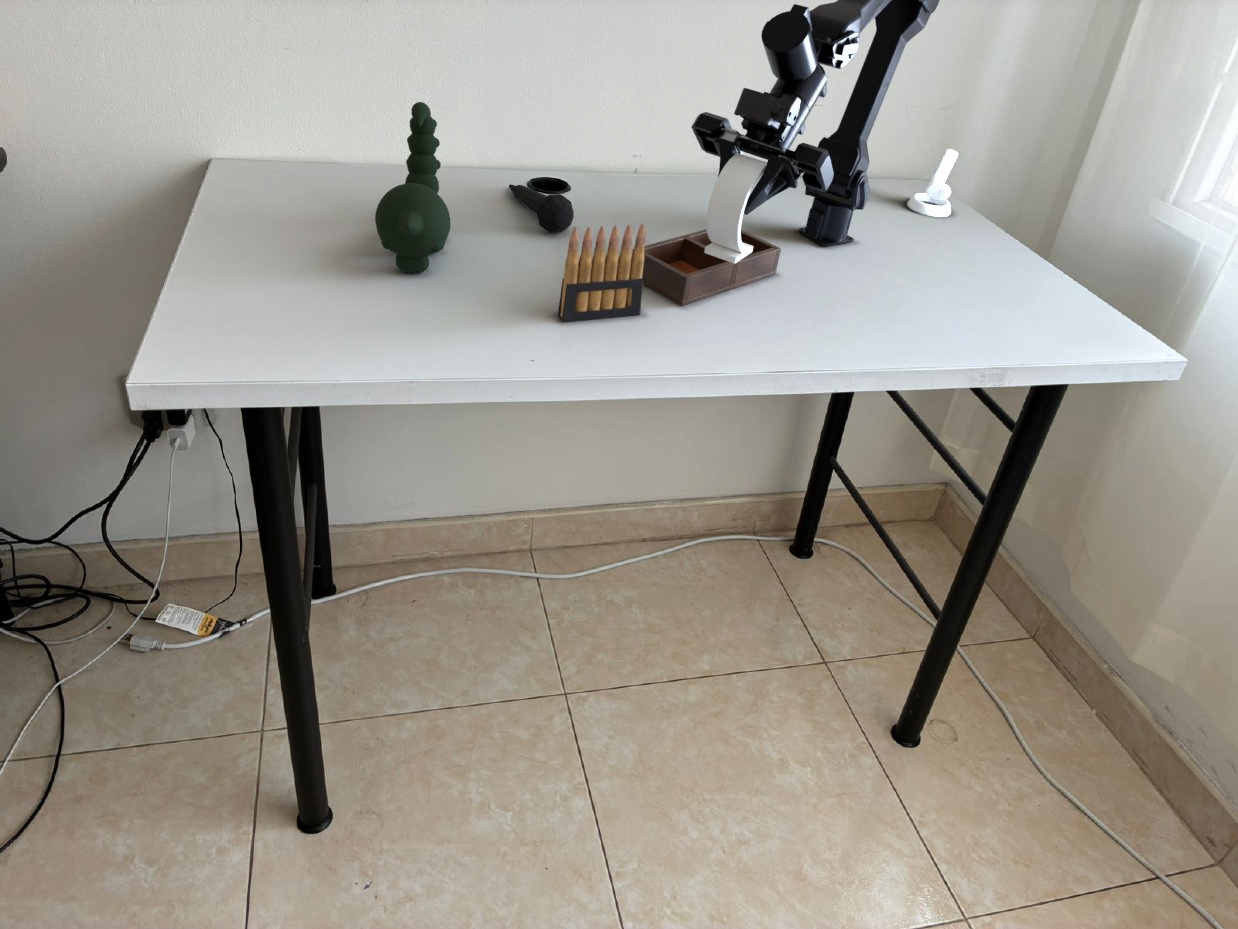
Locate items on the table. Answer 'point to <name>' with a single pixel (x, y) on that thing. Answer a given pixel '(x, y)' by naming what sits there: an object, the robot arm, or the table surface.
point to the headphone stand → (731, 207)
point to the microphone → (546, 208)
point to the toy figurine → (415, 201)
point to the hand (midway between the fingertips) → (729, 207)
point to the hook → (936, 190)
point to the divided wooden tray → (703, 267)
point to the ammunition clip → (602, 277)
